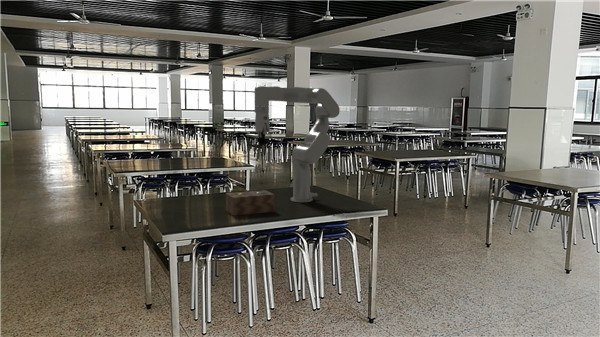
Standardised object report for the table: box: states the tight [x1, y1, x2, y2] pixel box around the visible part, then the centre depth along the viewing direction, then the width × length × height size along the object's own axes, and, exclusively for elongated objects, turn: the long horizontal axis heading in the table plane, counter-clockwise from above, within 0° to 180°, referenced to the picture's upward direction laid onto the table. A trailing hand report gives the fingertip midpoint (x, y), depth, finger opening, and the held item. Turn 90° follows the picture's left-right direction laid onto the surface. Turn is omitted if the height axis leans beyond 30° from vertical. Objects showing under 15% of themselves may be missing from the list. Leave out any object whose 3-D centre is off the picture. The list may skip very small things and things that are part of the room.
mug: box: [229, 188, 249, 193], centre depth 251 cm, size 12×10×10 cm
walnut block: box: [225, 189, 275, 216], centre depth 234 cm, size 22×12×9 cm, turn 116°
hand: (261, 144), depth 243 cm, fingers closed
